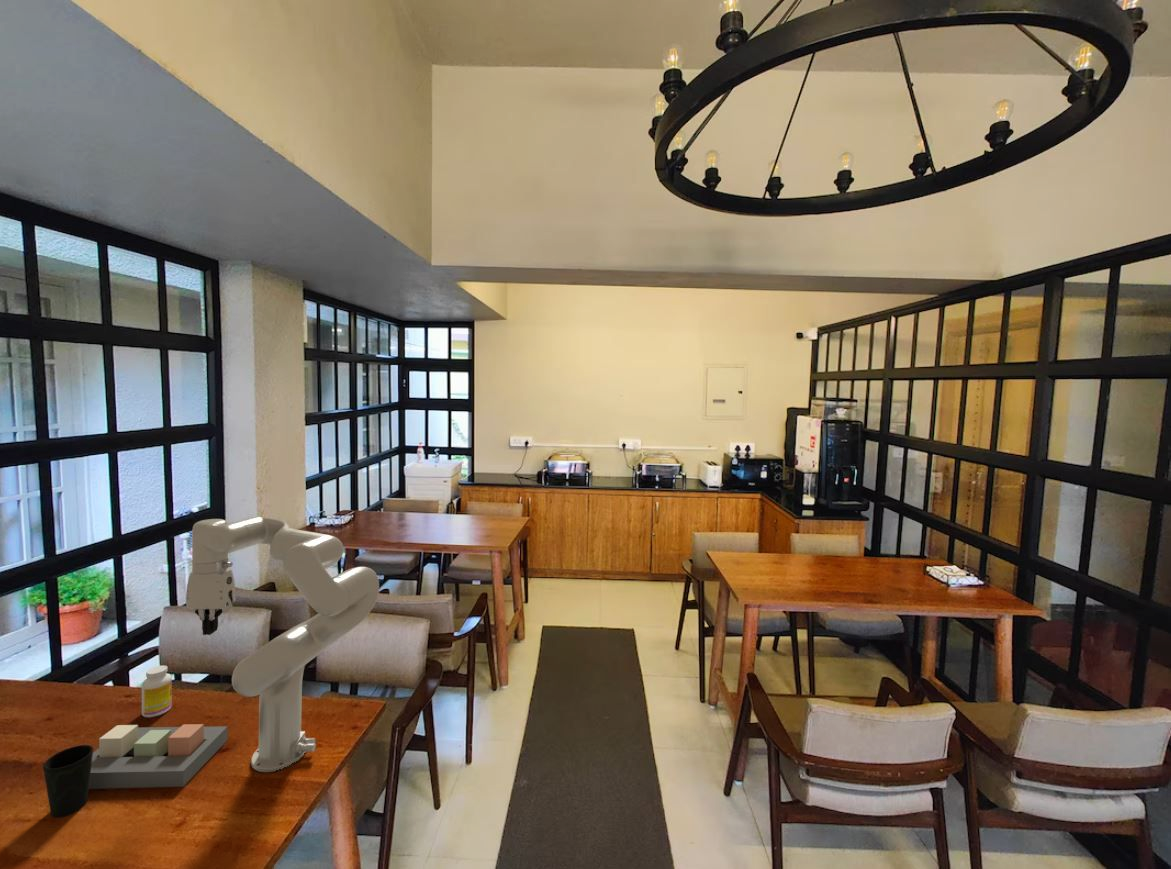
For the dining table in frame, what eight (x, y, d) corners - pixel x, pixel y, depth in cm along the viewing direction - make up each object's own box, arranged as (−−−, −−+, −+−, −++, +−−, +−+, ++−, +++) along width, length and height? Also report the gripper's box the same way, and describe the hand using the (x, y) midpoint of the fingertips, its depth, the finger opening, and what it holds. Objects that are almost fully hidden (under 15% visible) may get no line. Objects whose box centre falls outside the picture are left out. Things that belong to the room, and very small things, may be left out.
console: (227, 740, 130) (227, 726, 130) (183, 786, 114) (183, 770, 114) (125, 741, 128) (125, 727, 128) (66, 789, 112) (66, 773, 112)
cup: (92, 788, 113) (91, 739, 112) (95, 806, 108) (95, 755, 107) (43, 808, 107) (42, 757, 106) (44, 828, 102) (43, 775, 101)
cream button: (138, 743, 123) (138, 724, 123) (121, 757, 118) (120, 738, 118) (117, 743, 122) (117, 725, 122) (99, 757, 117) (99, 738, 117)
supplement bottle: (175, 709, 142) (175, 668, 141) (146, 721, 136) (146, 678, 135) (166, 701, 145) (167, 661, 144) (138, 712, 139) (138, 670, 139)
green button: (171, 748, 124) (171, 729, 123) (155, 762, 119) (155, 743, 118) (150, 748, 123) (150, 730, 123) (134, 762, 118) (134, 743, 118)
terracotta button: (203, 742, 124) (203, 724, 124) (189, 756, 119) (189, 737, 119) (183, 742, 124) (183, 724, 124) (168, 756, 119) (168, 737, 119)
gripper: (248, 562, 131) (248, 626, 132) (191, 561, 129) (190, 626, 130) (230, 571, 123) (230, 639, 124) (169, 570, 122) (169, 639, 123)
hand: (210, 632), depth 127 cm, fingers closed
